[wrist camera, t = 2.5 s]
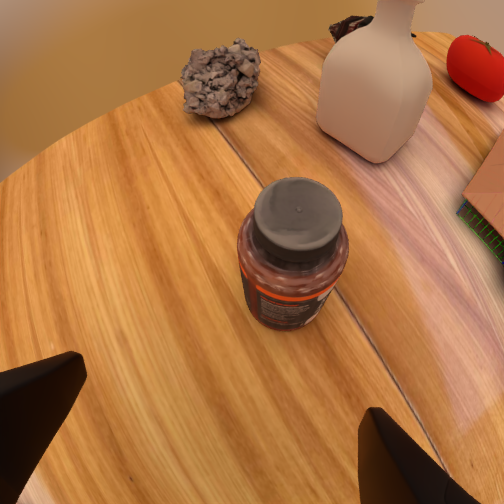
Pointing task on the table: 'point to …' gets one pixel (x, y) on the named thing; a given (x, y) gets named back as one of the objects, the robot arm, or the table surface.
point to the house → (489, 191)
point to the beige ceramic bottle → (375, 84)
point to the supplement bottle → (291, 252)
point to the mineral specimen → (220, 79)
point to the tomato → (476, 68)
